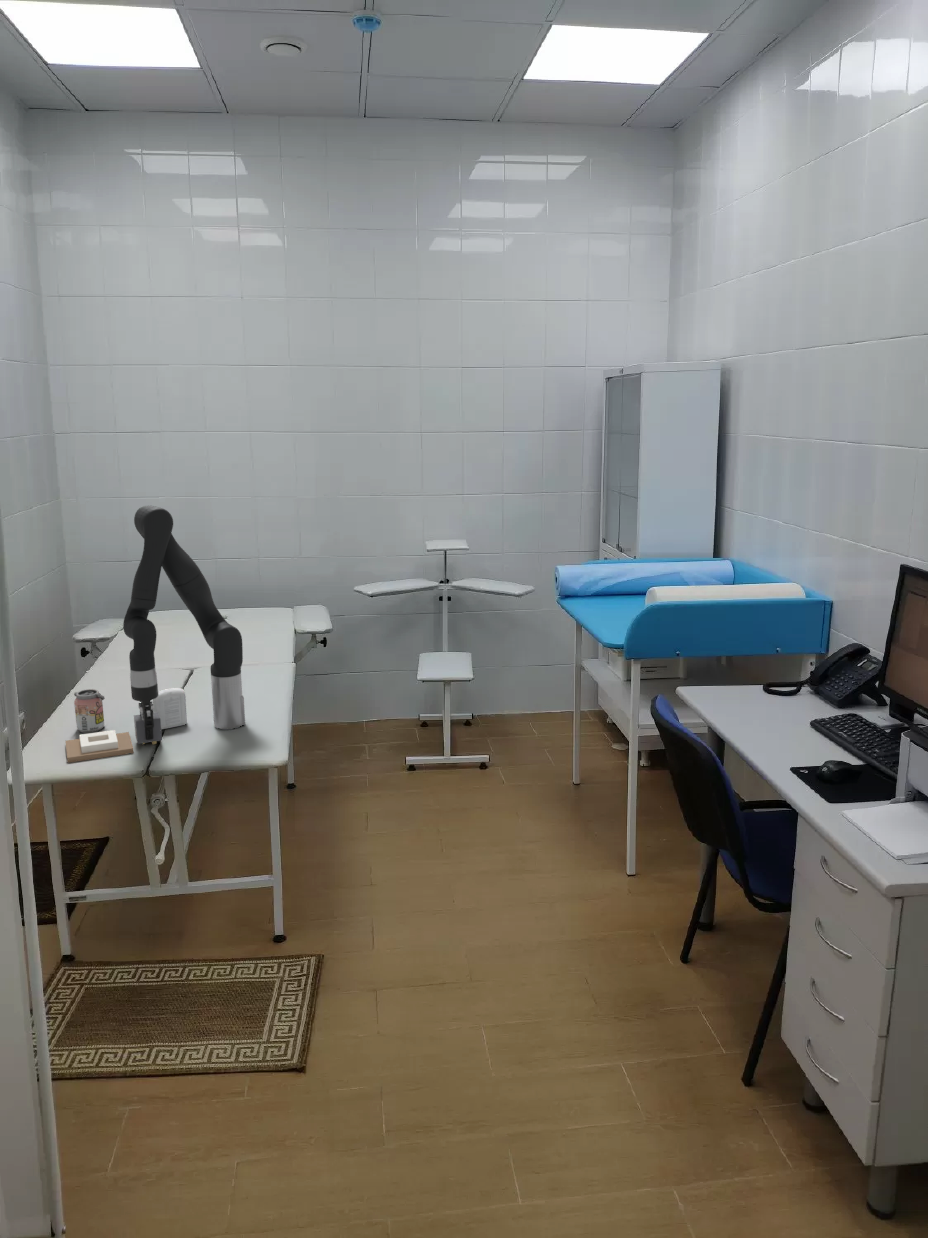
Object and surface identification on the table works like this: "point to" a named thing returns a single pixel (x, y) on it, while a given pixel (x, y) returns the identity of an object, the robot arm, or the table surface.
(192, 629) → the table surface
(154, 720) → the plug
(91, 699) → the beverage can
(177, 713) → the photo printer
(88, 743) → the socket
